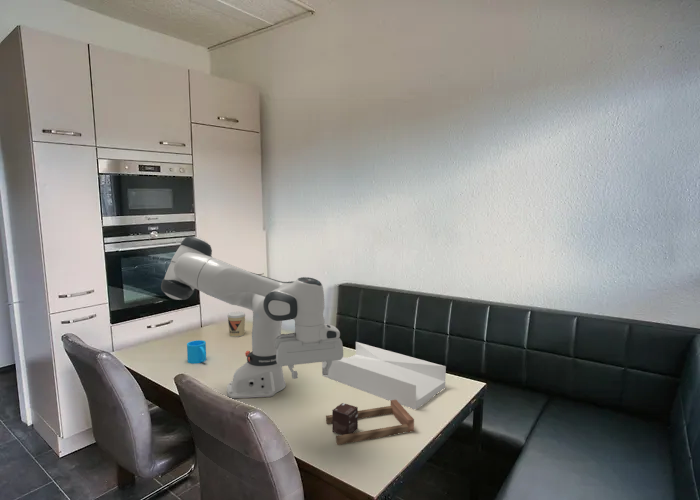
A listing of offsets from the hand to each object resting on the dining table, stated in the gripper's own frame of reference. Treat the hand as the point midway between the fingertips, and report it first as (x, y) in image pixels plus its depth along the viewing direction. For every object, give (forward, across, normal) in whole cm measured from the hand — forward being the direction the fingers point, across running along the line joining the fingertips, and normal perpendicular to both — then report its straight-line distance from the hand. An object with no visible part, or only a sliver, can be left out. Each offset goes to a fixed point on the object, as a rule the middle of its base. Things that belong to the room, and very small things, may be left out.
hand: (310, 376), depth 124 cm
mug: (+20, -36, +75) cm, 86 cm away
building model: (+20, +35, +30) cm, 51 cm away
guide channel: (+19, +18, 0) cm, 26 cm away
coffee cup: (+20, -18, +110) cm, 114 cm away
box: (+20, +11, 0) cm, 22 cm away
